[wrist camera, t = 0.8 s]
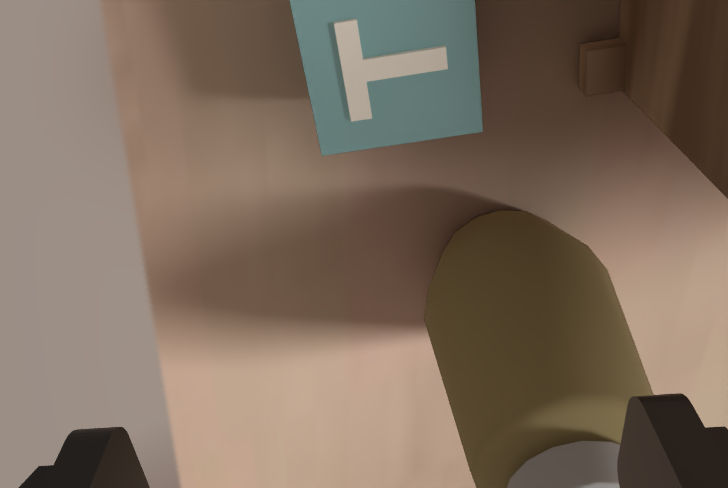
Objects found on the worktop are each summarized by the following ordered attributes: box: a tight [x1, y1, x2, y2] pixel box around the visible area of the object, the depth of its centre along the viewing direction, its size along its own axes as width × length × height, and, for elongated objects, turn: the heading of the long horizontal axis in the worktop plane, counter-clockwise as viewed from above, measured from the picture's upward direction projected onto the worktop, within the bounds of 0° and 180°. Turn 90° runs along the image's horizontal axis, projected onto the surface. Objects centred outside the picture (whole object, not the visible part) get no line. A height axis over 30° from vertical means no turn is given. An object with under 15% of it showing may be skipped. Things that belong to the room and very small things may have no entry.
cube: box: [290, 0, 483, 156], centre depth 23 cm, size 6×6×6 cm
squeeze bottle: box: [424, 210, 653, 488], centre depth 24 cm, size 8×8×18 cm
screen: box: [579, 0, 728, 198], centre depth 20 cm, size 5×8×12 cm, turn 9°
